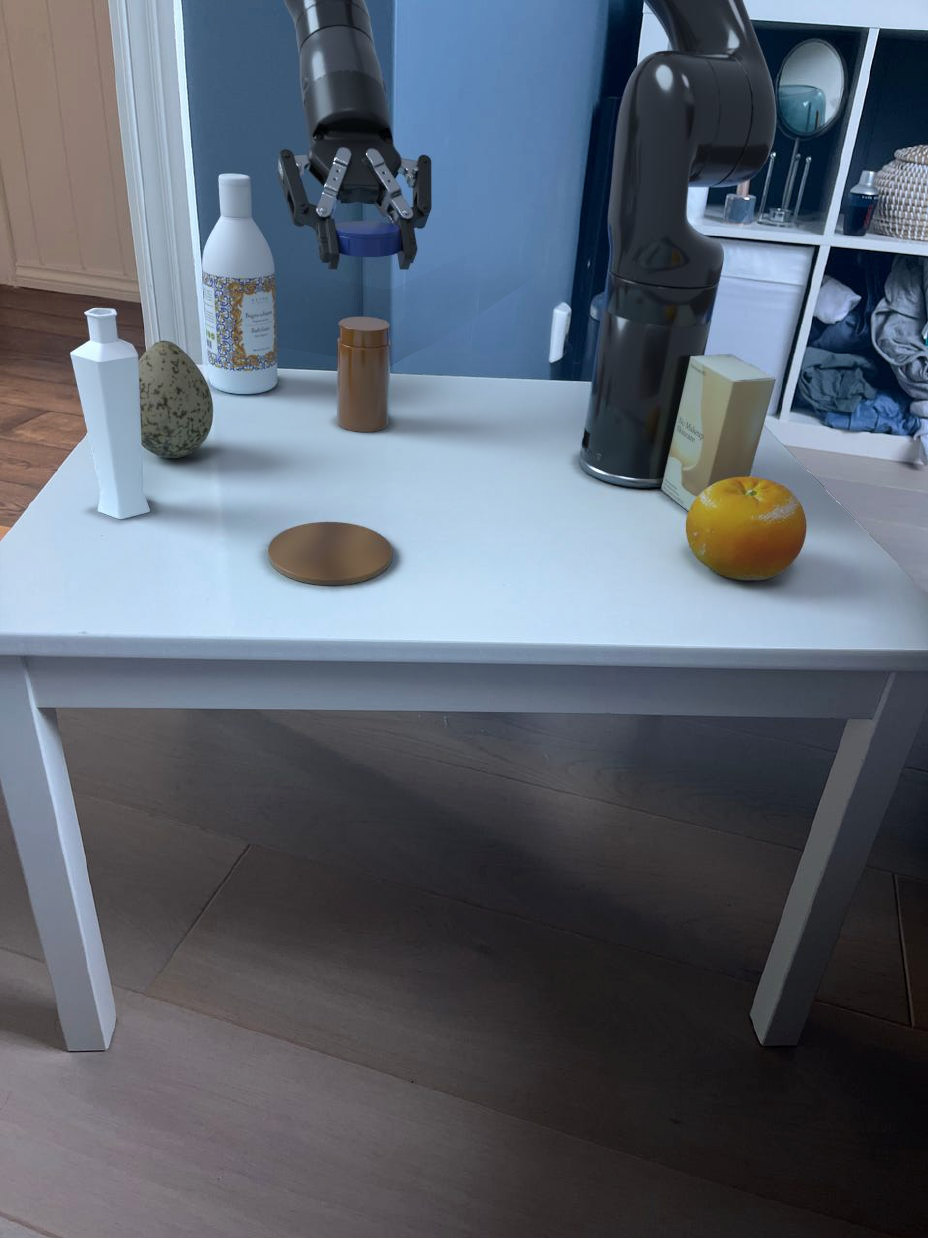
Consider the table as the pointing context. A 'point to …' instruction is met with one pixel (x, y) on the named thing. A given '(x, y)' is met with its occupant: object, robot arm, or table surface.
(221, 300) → the bath foam
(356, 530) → the coaster
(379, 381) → the jar
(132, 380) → the perfume bottle
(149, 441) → the decorative egg
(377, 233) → the lid
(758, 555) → the fruit
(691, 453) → the cosmetic box
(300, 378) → the table surface
